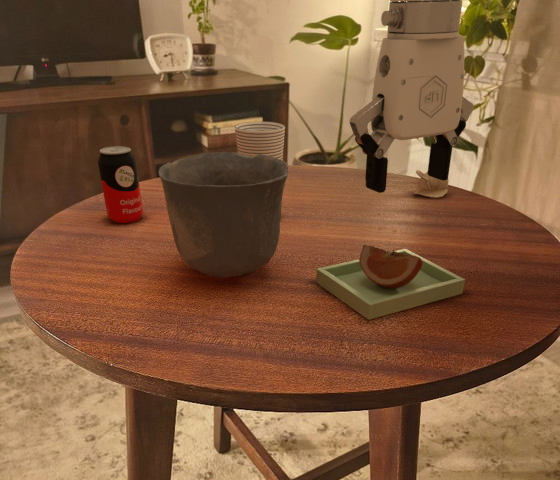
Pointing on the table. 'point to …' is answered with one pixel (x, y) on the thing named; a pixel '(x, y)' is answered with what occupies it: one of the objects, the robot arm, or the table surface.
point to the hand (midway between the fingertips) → (407, 183)
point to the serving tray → (382, 301)
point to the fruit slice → (389, 267)
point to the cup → (260, 139)
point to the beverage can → (120, 184)
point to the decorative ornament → (431, 186)
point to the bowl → (225, 210)
